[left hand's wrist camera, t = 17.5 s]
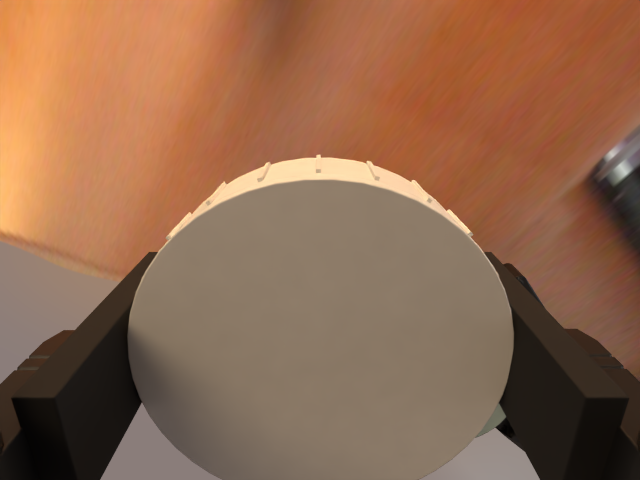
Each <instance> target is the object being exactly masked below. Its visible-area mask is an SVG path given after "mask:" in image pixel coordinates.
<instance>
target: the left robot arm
mask: <svg viewBox="0 0 640 480" xmlns="http://www.w3.org/2000/svg"><path fill="white" fill-rule="evenodd" d="M157 253H158V252H149V253H148V254H147V255H146V256H145V257H144V258H143V259H142V260H141V261H140V262H139V263H138V264H137V265H136V267H135V268H134V269H133V270H132V271H131V272H130V273H129V274H128V275H127V276H126V277H125V278H124V279H123V280H122V281H121V282H120V283H119V284H118V285H117V287H116V288H115V289H114V290H113V291H112V292H111V293H110V294H109V295H108V296H107V297H106V298H105V299H104V300H103V301H102V302H101V303H100V304H99V305H98V306H97V308H96V309H95V310H94V311H93V312H92V313H91V314H90V315H89V316H88V317H87V318H86V319H85V320H84V321H83V322H82V323H81V324H80V325H79V327H78V328H77V329H76V330H63V331H62V332H60V333H58V334H57V335H55V336H53V337H51V338H50V339H48V340H46V341H45V342H43V343H42V344H41V345H40V346H39V347H38V348H37V349H36V350H35V351H34V352H33V353H32V354H31V355H30V356H29V359H26V360H25V361H24V362H23V363H22V364H21V365H20V366H19V367H18V369H17V370H15V371H13V372H12V373H11V374H10V375H9V376H8V377H7V378H6V379H5V380H4V381H3V382H2V383H1V384H0V480H100V479H101V477H102V475H103V473H104V471H105V470H106V468H107V466H108V464H109V462H110V460H111V458H112V457H113V455H114V453H115V451H116V449H117V447H118V445H119V444H120V442H121V440H122V438H123V436H124V434H125V432H126V431H127V429H128V427H129V425H130V423H131V421H132V420H133V418H134V416H135V414H136V412H137V410H138V408H139V407H140V405H141V403H142V401H141V399H140V397H139V394H138V392H137V389H136V386H135V383H134V381H133V378H132V373H131V368H130V363H129V358H128V338H127V335H128V326H129V317H130V311H131V308H132V304H133V301H134V297H135V294H136V291H137V289H138V287H139V284H140V282H141V279H142V277H143V276H144V274H145V271H146V270H147V268H148V267H149V265H150V264H151V262H152V261H153V259H154V258H155V256H156V255H157ZM484 254H485V255H486V257H487V258H488V260H489V261H490V262H491V264H492V265H493V267H494V268H495V270H496V272H497V273H498V275H499V279H500V281H501V283H502V285H503V287H504V289H505V292H506V295H507V299H508V302H509V305H510V309H511V314H512V321H513V328H514V348H513V355H512V360H511V365H510V370H509V375H508V380H507V384H506V387H505V390H504V393H503V395H502V397H501V399H500V401H499V404H500V406H501V408H502V410H503V412H504V414H505V415H506V417H507V419H508V421H509V423H510V425H511V426H512V428H513V430H514V432H515V434H516V436H517V438H518V439H519V441H520V443H521V445H522V447H523V449H524V451H525V452H526V454H527V456H528V458H529V460H530V462H531V463H532V465H533V467H534V469H535V471H536V473H537V475H538V476H539V478H540V480H640V382H639V381H638V380H637V379H636V378H635V377H634V376H633V375H632V374H631V373H630V372H629V371H628V370H627V369H624V368H623V365H622V364H621V363H620V362H619V361H618V360H617V359H616V358H615V357H612V356H611V354H610V353H609V352H608V351H607V350H606V349H605V348H604V347H603V346H602V345H601V344H600V343H599V342H598V341H597V340H595V339H593V338H592V337H590V336H588V335H586V334H585V333H583V332H581V331H580V330H578V329H564V328H563V327H562V326H561V325H560V324H559V323H558V322H557V321H556V320H555V319H554V318H553V317H552V316H551V315H550V314H549V312H548V311H547V310H546V309H545V308H544V307H543V306H542V305H541V304H540V303H539V302H538V301H537V300H536V299H535V298H534V297H533V296H532V295H531V294H530V293H529V291H528V290H527V289H526V288H525V287H524V286H523V285H522V284H521V283H520V282H519V281H518V280H517V279H516V278H515V277H514V276H513V275H512V274H511V273H510V272H509V270H508V269H507V268H506V267H505V266H504V265H503V264H502V263H501V262H500V261H499V260H498V259H497V258H496V257H495V256H494V255H493V254H492V253H491V252H484Z"/></svg>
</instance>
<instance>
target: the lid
mask: <svg viewBox="0 0 640 480" xmlns="http://www.w3.org/2000/svg"><path fill="white" fill-rule="evenodd" d="M472 235H473V234H472V232H471V231H470V230H469V229H468V228H467V227H466V226H465V225H464V224H463V223H462V222H461V221H460V220H459V219H458V218H457V217H456V216H455V215H454V213H453V212H452V211H451V210H450V209H449V210H448V211H446V210H445V209H444V208H443V207H442V206H441V205H440V204H439V203H438V202H437V201H436V200H435V199H434V198H433V197H431V196H430V195H429V194H427V193H426V192H425V191H424V190H423V189H422V188H421V186H420V185H419V184H418V183H417V182H416V181H414V180H412V182H410V181H408V180H406V179H405V178H403V177H401V176H399V175H397V174H395V173H392V172H390V171H387V170H385V169H382V168H380V167H377V166H374V165H373V164H372V163H371V162H370V161H367V163H362V162H358V161H354V160H346V159H338V158H321V155H316V158H303V159H296V160H289V161H283V162H279V163H275V164H272V165H271V163H270V162H268V163H266V164H265V166H264V167H261V168H259V169H256V170H254V171H252V172H249V173H247V174H245V175H242V176H240V177H238V178H237V179H235V180H233V181H232V182H230V183H228V184H226V183H225V182H224V183H222V184H221V185H220V186H219V188H218V189H217V190H216V191H215V192H214V193H213V194H212V195H211V196H210V197H209V198H208V199H207V200H205V201H204V202H203V203H202V204H201V205H200V206H199V207H198V208H197V209H196V211H195V212H194V213H193V214H191V213H190V212H189V213H188V214H187V215H186V216H185V217H184V218H183V219H182V221H181V222H180V223H179V224H178V225H177V226H176V227H175V228H174V229H173V230H172V231H171V232H170V233H169V234H168V236H167V237H166V239H167V240H168V242H167V243H166V244H165V245H164V246H163V247H162V248H161V249H160V250H159V252H158V253H157V255H156V256H155V258H154V259H153V261H152V262H151V264H150V265H149V267H148V268H147V270H146V271H145V274H144V276H143V277H142V279H141V282H140V284H139V287H138V289H137V291H136V294H135V297H134V301H133V304H132V308H131V311H130V317H129V326H128V335H127V338H128V358H129V363H130V368H131V373H132V378H133V381H134V383H135V386H136V389H137V392H138V394H139V397H140V399H141V401H142V403H143V405H144V407H145V408H146V410H147V412H148V414H149V416H150V417H151V419H152V420H153V421H154V423H155V424H156V426H157V427H158V428H159V430H160V431H161V432H162V434H163V435H164V436H165V437H166V438H167V439H168V440H169V441H170V442H171V443H172V444H173V445H174V446H175V447H176V448H177V449H178V450H179V451H180V452H181V453H183V454H184V455H185V456H186V457H187V458H189V459H190V460H191V461H192V462H194V463H195V464H197V465H198V466H200V467H201V468H203V469H204V470H206V471H207V472H209V473H211V474H212V475H214V476H216V477H218V478H220V479H222V480H419V479H421V478H423V477H425V476H427V475H428V474H430V473H432V472H434V471H435V470H437V469H438V468H440V467H441V466H443V465H444V464H446V463H447V462H449V461H450V460H452V459H453V458H454V457H455V456H456V455H457V454H458V453H460V452H461V451H462V450H463V449H464V448H465V447H467V446H468V445H469V443H470V442H471V441H472V440H473V439H474V438H475V437H476V436H477V435H478V434H479V432H480V431H481V430H482V429H483V427H484V426H485V425H486V423H487V422H488V420H489V419H490V417H491V416H492V414H493V413H494V411H495V409H496V407H497V405H498V403H499V401H500V399H501V397H502V395H503V393H504V390H505V387H506V384H507V380H508V375H509V370H510V365H511V360H512V355H513V348H514V328H513V321H512V314H511V309H510V305H509V302H508V299H507V295H506V292H505V289H504V287H503V285H502V283H501V281H500V279H499V275H498V273H497V272H496V270H495V268H494V267H493V265H492V264H491V262H490V261H489V260H488V258H487V257H486V255H485V254H484V252H483V251H482V250H481V248H480V247H479V246H478V245H477V244H476V243H475V242H474V240H473V239H472V238H471V236H472Z"/></svg>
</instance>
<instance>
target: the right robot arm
mask: <svg viewBox="0 0 640 480" xmlns="http://www.w3.org/2000/svg"><path fill="white" fill-rule="evenodd" d="M503 265H504V266H505V267H506V268H507V269H508V270H509V272H510V273H511V274H512V275H513V276H514V277H515V278H516V279H517V280H518V281H519V282H520V283H521V284H522V285H523V286H524V287H525V288H526V289H527V290H528V291H529V293H530V294H531V295H532V296H533V297H534V298H535V299H536V300H537V301H538V302H539V303H540V304H541V305H542V306H543V304H542V303H541V301H540V300H539V298H538V297H537V295H536V293H535V292H534V290H533V289H532V287H531V286H530V284H529V283H528V281H527V279H526V278H525V277H524V276H523V275H522V274H521V273H520V272H519V271H518V270H517V269H516V268H515V267H514V266H513V265H512V264H509V263H506V264H503ZM543 307H544V306H543ZM544 308H545V307H544ZM495 428H497V429H498V430H499V431H500V432H501V433H502V434H503V435H504V436H506V437H507V438H508V439H510V440H511V441H512V442H513V443H515V444H516V445H517V446H518V447H520V448H521V449H522V450H523V451H524V449H523V447H522V445H521V443H520V441H519V439H518V438H517V436H516V434H515V432H514V430H513V428H512V426H511V425H510V423H509V421H508V419H507V417H506V418H505V419H504V420H503V421H502V422H501V423H500V424H499V425H497V426H496V427H495Z"/></svg>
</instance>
